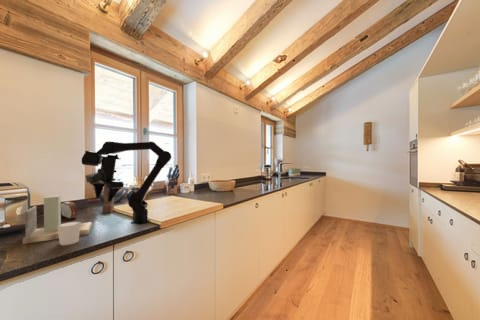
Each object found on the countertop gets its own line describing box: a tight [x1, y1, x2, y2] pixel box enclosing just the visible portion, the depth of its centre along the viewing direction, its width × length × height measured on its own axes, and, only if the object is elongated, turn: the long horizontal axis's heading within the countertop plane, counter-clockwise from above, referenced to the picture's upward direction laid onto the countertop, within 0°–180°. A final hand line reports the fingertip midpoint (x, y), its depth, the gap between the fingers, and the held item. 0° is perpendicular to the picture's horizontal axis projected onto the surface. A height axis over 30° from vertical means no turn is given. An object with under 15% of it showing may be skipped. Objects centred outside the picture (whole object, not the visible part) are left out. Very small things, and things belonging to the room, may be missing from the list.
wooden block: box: [102, 184, 115, 215], centre depth 124 cm, size 9×4×18 cm, turn 23°
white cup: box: [57, 221, 82, 246], centre depth 80 cm, size 7×7×7 cm
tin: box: [61, 200, 78, 220], centre depth 113 cm, size 15×3×8 cm, turn 58°
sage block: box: [43, 194, 62, 232], centre depth 87 cm, size 4×4×14 cm
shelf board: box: [22, 205, 93, 245], centre depth 88 cm, size 20×12×12 cm, turn 121°
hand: (103, 199), depth 100 cm, fingers open, 9 cm apart
